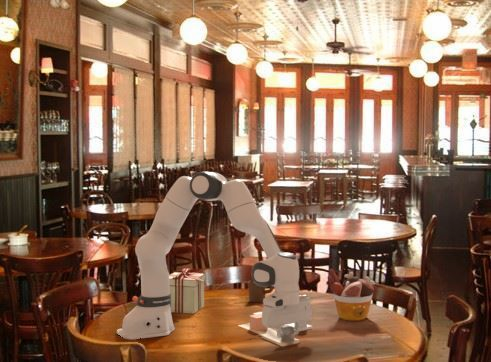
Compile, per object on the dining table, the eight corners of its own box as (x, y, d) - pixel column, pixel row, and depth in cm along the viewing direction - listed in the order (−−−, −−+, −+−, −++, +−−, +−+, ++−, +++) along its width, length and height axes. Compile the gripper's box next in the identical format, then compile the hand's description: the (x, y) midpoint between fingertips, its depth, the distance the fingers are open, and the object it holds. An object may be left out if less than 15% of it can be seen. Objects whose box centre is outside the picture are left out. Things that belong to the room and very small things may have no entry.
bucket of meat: (380, 315, 281) (379, 267, 280) (371, 325, 266) (370, 275, 265) (333, 310, 289) (333, 265, 288) (322, 320, 274) (322, 272, 273)
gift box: (204, 314, 287) (203, 274, 286) (162, 313, 290) (161, 274, 289) (212, 304, 304) (211, 267, 303) (172, 304, 307) (171, 266, 306)
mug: (276, 300, 310) (276, 280, 309) (270, 304, 303) (270, 283, 302) (252, 298, 314) (252, 278, 314) (246, 302, 308) (245, 281, 307)
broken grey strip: (295, 332, 257) (295, 316, 256) (252, 316, 282) (252, 301, 282) (312, 329, 261) (311, 313, 261) (268, 313, 286) (268, 298, 286)
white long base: (282, 346, 239) (281, 329, 238) (237, 327, 264) (237, 312, 264) (300, 342, 243) (299, 326, 243) (254, 324, 268) (254, 309, 268)
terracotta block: (256, 331, 255) (256, 318, 255) (249, 328, 259) (249, 315, 259) (267, 329, 258) (267, 316, 257) (260, 326, 262) (260, 313, 262)
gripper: (304, 292, 250) (305, 328, 251) (259, 300, 239) (259, 338, 240) (315, 295, 244) (315, 332, 245) (269, 303, 233) (269, 342, 234)
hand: (287, 335), depth 242 cm, fingers open, 5 cm apart
